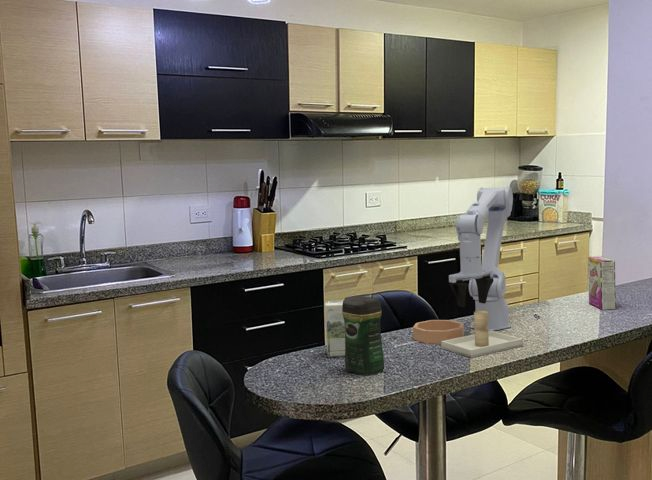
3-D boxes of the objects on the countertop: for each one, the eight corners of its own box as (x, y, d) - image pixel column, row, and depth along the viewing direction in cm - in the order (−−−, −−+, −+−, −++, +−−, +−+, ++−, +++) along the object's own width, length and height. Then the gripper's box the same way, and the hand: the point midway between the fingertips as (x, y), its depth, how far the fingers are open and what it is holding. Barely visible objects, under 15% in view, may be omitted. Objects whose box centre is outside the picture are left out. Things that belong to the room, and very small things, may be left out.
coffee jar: (390, 370, 158) (386, 296, 156) (366, 378, 153) (362, 301, 151) (363, 363, 165) (360, 291, 164) (340, 370, 160) (335, 296, 159)
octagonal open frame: (442, 329, 197) (442, 317, 196) (473, 337, 184) (473, 325, 184) (405, 336, 190) (404, 325, 190) (434, 346, 178) (434, 333, 178)
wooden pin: (479, 342, 177) (478, 310, 176) (491, 344, 174) (490, 311, 173) (472, 345, 174) (471, 312, 174) (483, 347, 172) (482, 314, 171)
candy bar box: (587, 304, 221) (586, 256, 220) (602, 303, 221) (601, 255, 220) (601, 310, 210) (600, 260, 209) (616, 309, 210) (616, 259, 208)
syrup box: (347, 351, 178) (345, 299, 177) (349, 356, 172) (346, 303, 171) (327, 352, 178) (324, 300, 176) (327, 358, 172) (324, 304, 171)
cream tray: (491, 337, 184) (491, 330, 184) (523, 346, 173) (522, 338, 173) (441, 348, 175) (441, 341, 175) (471, 358, 165) (471, 350, 165)
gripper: (480, 253, 188) (482, 299, 189) (441, 258, 181) (442, 306, 182) (497, 255, 182) (499, 302, 183) (457, 260, 175) (459, 310, 176)
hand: (472, 304), depth 182 cm, fingers open, 7 cm apart
